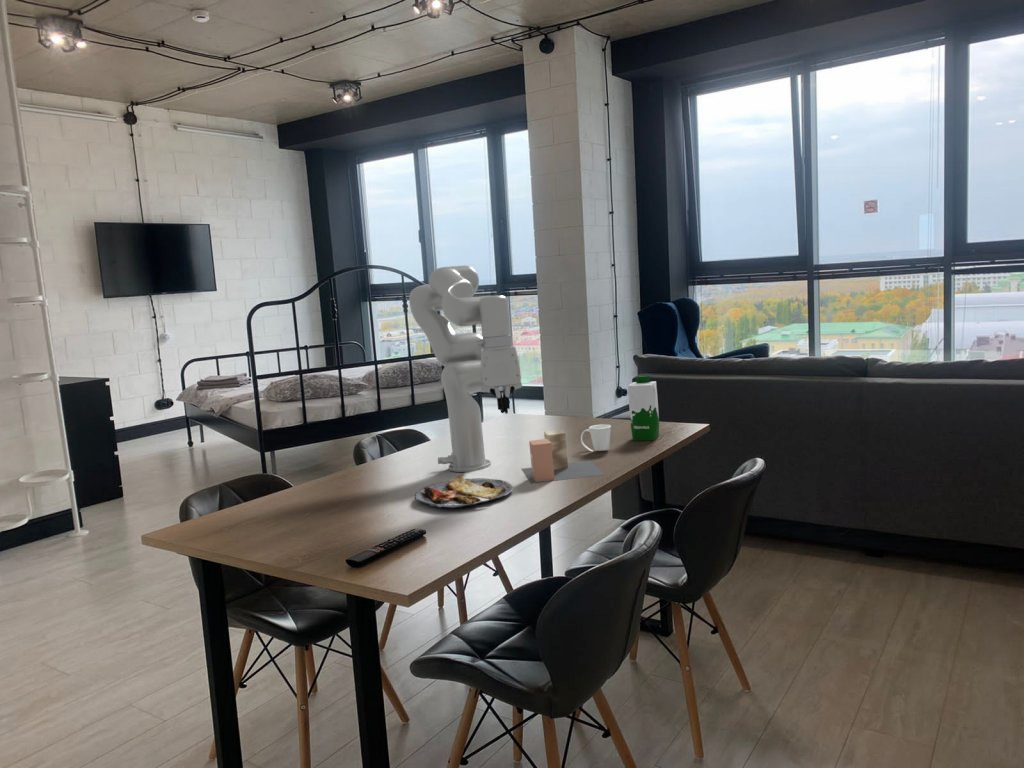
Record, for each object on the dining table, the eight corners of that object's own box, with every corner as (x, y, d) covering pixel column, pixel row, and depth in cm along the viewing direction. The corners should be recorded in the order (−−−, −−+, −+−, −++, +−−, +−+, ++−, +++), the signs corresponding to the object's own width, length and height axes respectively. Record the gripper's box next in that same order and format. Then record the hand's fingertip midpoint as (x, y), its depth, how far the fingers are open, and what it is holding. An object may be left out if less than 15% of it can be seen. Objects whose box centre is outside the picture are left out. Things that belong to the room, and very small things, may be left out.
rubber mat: (531, 485, 202) (530, 483, 202) (521, 470, 220) (521, 468, 220) (604, 476, 205) (604, 474, 205) (589, 461, 222) (589, 460, 222)
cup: (608, 455, 228) (606, 428, 227) (577, 454, 233) (575, 428, 232) (616, 450, 235) (614, 424, 234) (586, 449, 239) (584, 424, 238)
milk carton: (662, 435, 250) (658, 374, 248) (656, 441, 242) (651, 378, 240) (635, 435, 254) (631, 375, 251) (629, 441, 246) (624, 379, 243)
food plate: (399, 500, 199) (398, 487, 198) (471, 481, 213) (470, 468, 213) (455, 519, 179) (454, 505, 179) (530, 497, 194) (529, 483, 194)
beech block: (550, 470, 215) (547, 435, 214) (546, 465, 221) (543, 431, 220) (568, 468, 216) (565, 433, 214) (564, 463, 221) (561, 429, 220)
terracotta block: (535, 482, 203) (532, 445, 202) (531, 476, 209) (528, 441, 208) (554, 479, 204) (551, 442, 203) (550, 474, 210) (547, 438, 209)
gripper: (470, 346, 196) (477, 417, 198) (527, 340, 198) (534, 410, 200) (467, 345, 204) (475, 413, 206) (523, 339, 206) (529, 407, 208)
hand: (504, 411), depth 203 cm, fingers closed
